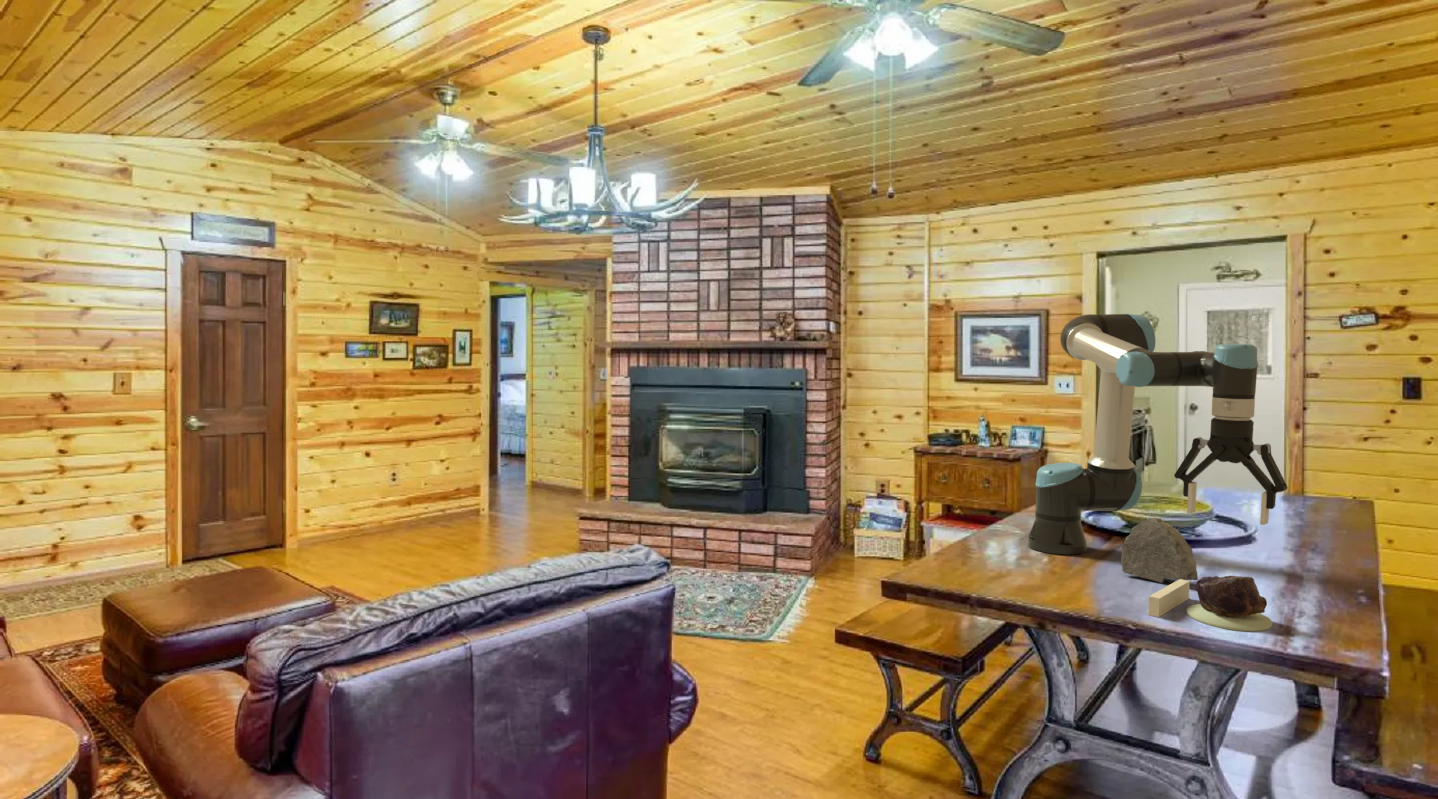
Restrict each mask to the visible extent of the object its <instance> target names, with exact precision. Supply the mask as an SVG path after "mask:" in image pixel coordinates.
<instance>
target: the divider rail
mask: <svg viewBox="0 0 1438 799" xmlns="http://www.w3.org/2000/svg"><path fill="white" fill-rule="evenodd" d="M1190 582H1191V580H1182V579H1179V580H1178V579H1176V580H1175V581H1174V582H1172V583H1171V584H1168V585H1166V586H1165V587H1163V588H1161V589H1160V590H1158V591H1156V592H1154V593H1152V594H1151V595H1149V596H1148V612H1147V613H1148V616H1151V617H1156V618H1160V617H1161V616H1163V615H1164V614H1166V613H1167V612H1170V611H1172V610H1173V609H1174V608H1176V607H1178V606H1179V605H1181V604H1182V603H1184V602H1186V601H1187V600H1189V599H1190Z"/></svg>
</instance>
